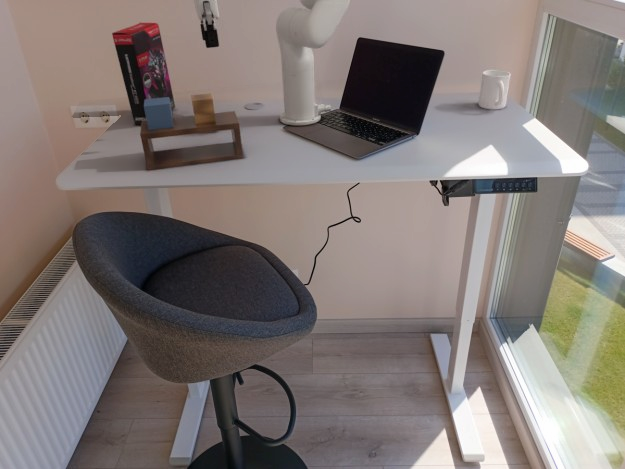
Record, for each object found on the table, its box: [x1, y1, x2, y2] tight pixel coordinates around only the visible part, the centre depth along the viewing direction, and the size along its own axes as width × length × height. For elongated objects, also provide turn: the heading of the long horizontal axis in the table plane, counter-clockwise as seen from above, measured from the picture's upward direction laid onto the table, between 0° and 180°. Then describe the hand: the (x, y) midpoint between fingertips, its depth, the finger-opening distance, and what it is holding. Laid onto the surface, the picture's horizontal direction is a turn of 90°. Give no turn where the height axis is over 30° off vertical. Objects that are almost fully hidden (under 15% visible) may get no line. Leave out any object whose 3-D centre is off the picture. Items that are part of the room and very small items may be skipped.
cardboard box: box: [191, 93, 216, 124], centre depth 128 cm, size 5×5×6 cm
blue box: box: [144, 97, 174, 130], centre depth 126 cm, size 6×6×6 cm
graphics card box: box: [111, 22, 176, 126], centre depth 156 cm, size 17×7×27 cm, turn 168°
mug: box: [478, 69, 512, 111], centre depth 157 cm, size 12×8×10 cm
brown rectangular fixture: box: [139, 110, 244, 171], centre depth 131 cm, size 24×10×10 cm, turn 104°
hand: (210, 43), depth 129 cm, fingers open, 9 cm apart
